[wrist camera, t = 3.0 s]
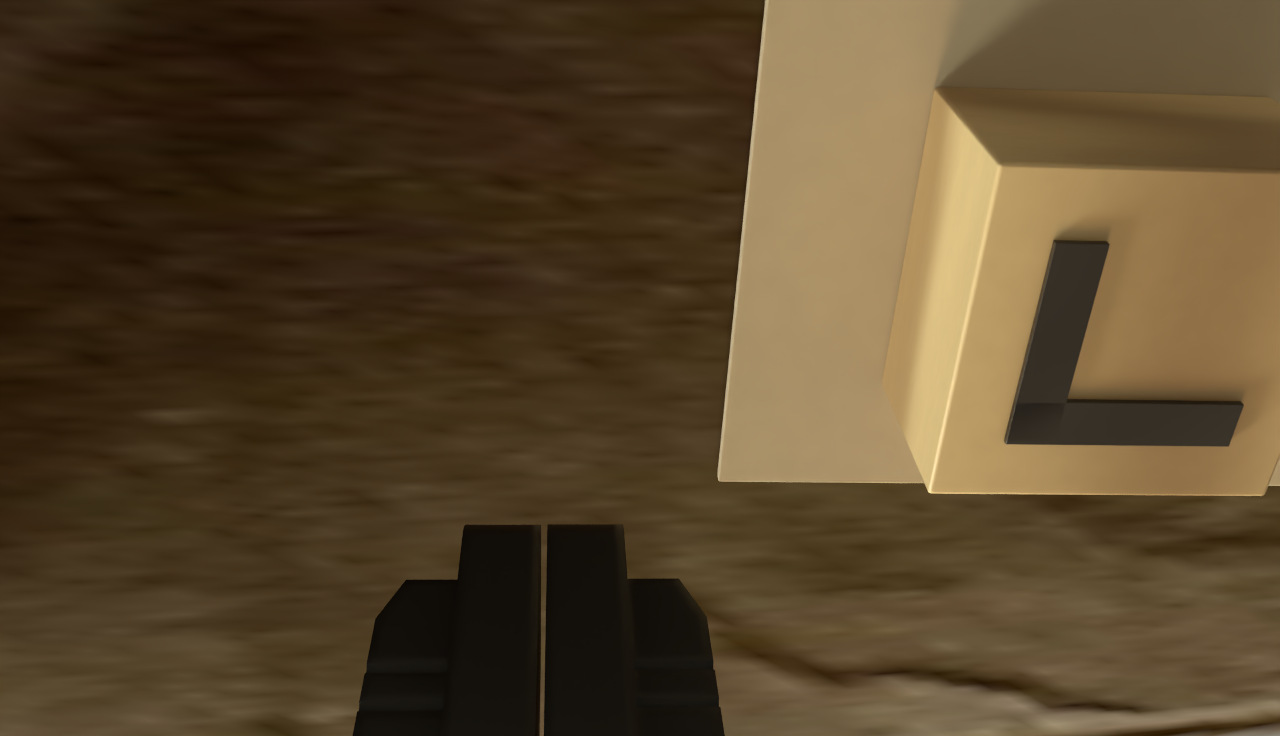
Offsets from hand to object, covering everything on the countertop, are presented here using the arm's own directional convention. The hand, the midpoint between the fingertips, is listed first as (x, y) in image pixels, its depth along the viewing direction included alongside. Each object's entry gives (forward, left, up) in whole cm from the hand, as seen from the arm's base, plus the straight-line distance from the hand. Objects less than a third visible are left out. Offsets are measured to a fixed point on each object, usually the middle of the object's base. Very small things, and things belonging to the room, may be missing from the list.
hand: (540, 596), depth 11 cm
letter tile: (+2, +8, -8) cm, 11 cm away
